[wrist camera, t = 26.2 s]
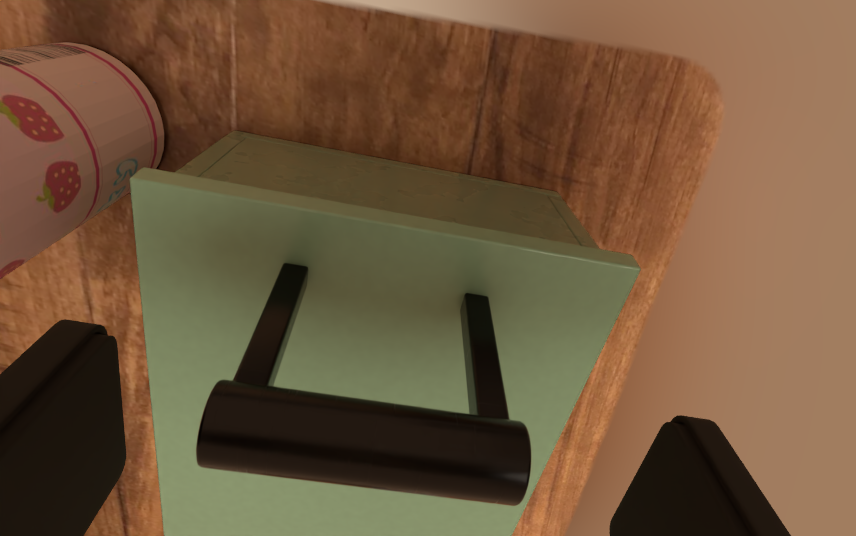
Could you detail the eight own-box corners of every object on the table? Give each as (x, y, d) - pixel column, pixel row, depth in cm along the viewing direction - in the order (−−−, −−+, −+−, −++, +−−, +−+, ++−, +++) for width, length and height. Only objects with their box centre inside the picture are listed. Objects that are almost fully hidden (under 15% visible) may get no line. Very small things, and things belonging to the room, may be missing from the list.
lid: (142, 165, 14) (-66, 337, 8) (632, 253, 15) (762, 454, 9) (172, 531, 22) (81, 745, 16) (486, 565, 24) (507, 773, 18)
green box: (233, 129, 21) (168, 175, 16) (558, 191, 23) (605, 253, 17) (221, 424, 28) (173, 530, 22) (472, 457, 29) (486, 565, 24)
